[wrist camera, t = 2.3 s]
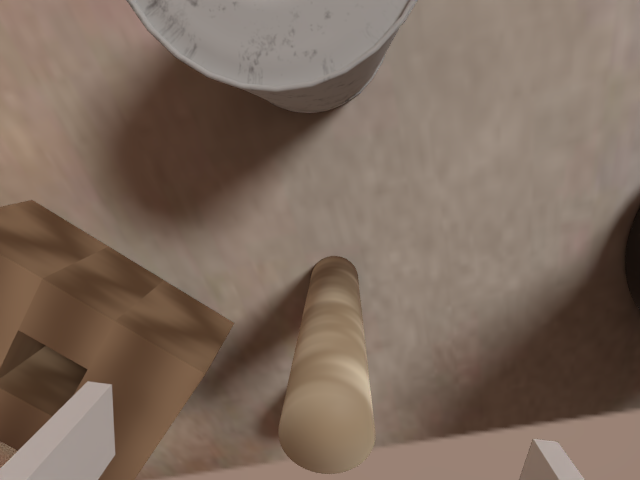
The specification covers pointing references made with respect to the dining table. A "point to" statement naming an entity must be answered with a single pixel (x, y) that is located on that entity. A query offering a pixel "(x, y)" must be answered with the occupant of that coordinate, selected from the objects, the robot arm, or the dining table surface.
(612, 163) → the dining table surface
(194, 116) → the dining table surface
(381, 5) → the speckled white tub
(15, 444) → the hole block
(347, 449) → the long pin
